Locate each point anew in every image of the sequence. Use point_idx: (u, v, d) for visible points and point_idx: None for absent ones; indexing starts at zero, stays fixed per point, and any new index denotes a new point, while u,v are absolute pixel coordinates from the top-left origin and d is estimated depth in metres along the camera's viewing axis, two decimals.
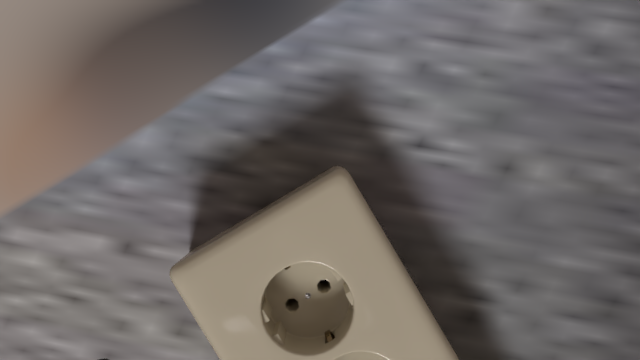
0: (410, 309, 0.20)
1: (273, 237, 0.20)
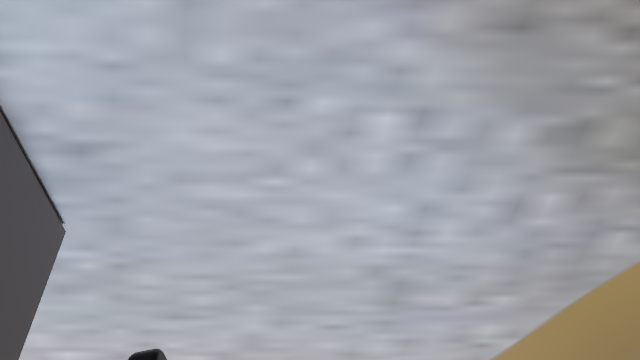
0: None
1: None
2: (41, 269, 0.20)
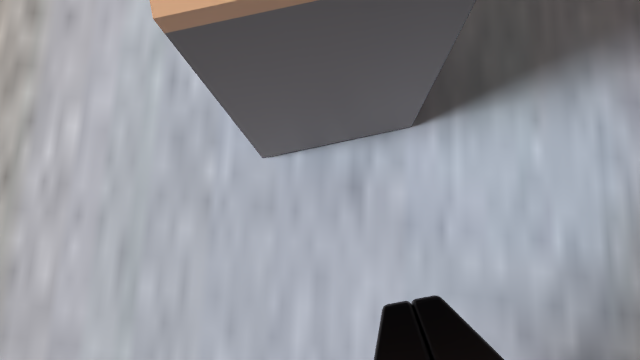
0: None
1: None
2: (267, 141, 0.19)
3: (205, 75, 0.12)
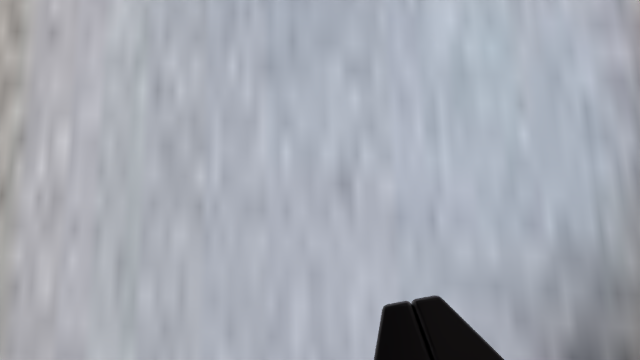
0: None
1: None
2: None
3: None
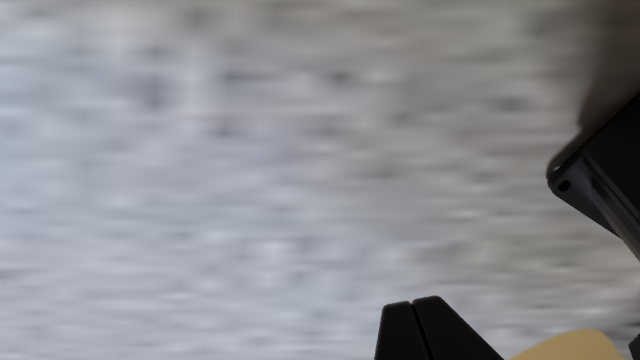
0: None
1: None
2: None
3: None
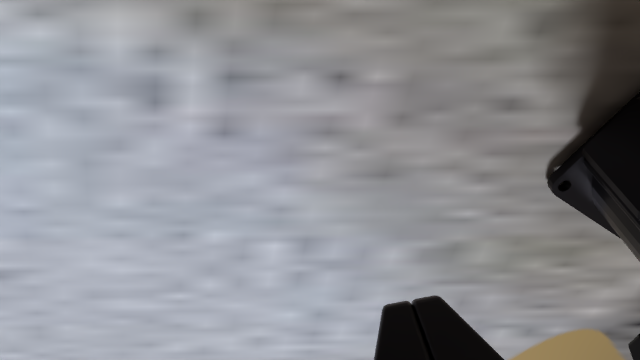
0: None
1: None
2: None
3: None
